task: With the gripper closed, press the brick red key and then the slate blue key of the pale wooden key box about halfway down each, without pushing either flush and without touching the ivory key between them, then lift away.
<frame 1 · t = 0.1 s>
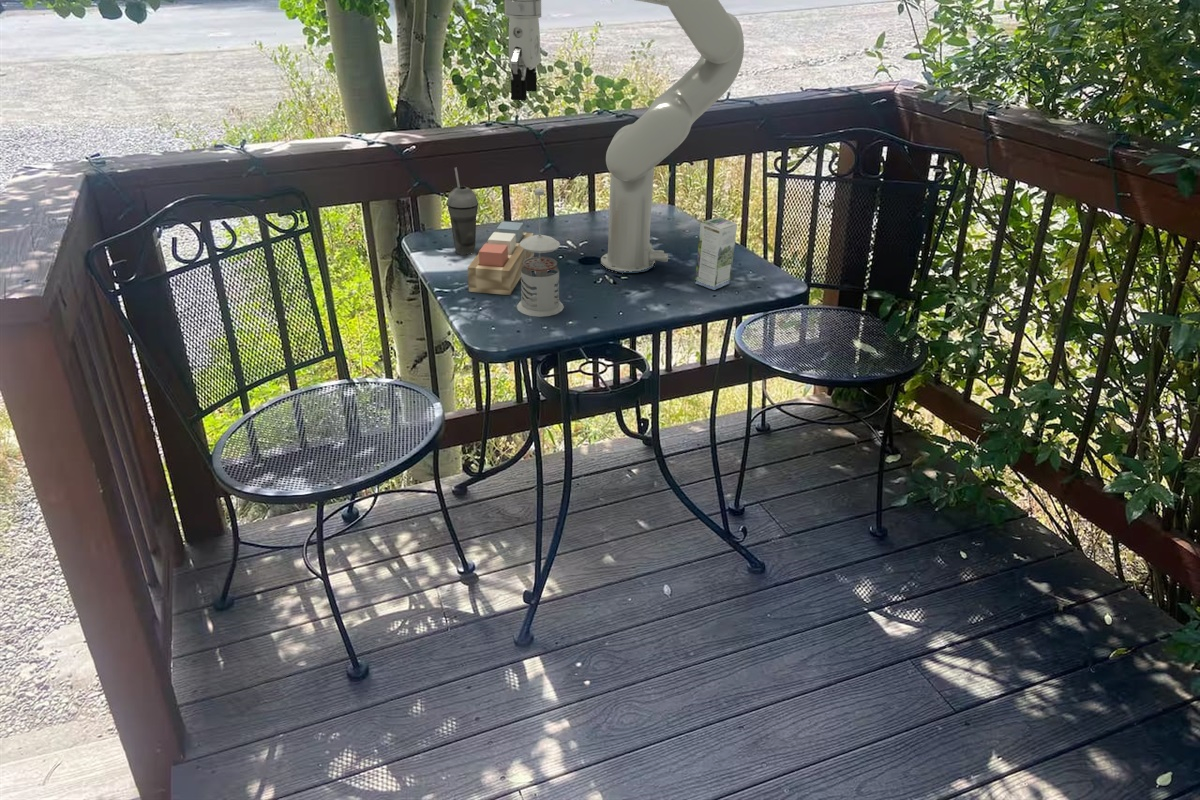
hand: (524, 95, 190), 37 cm above the table, tool pointing down, fingers open, 9 cm apart
syrup box: (712, 285, 197), on the table
red key: (493, 257, 190), point 6 cm above the table, slide at 0.0 cm
key box: (503, 272, 200), on the table
blue key: (510, 234, 203), point 6 cm above the table, slide at 0.0 cm
french press: (538, 305, 185), on the table
beverage cup: (465, 252, 211), on the table
white key: (502, 245, 196), point 6 cm above the table, slide at 0.0 cm
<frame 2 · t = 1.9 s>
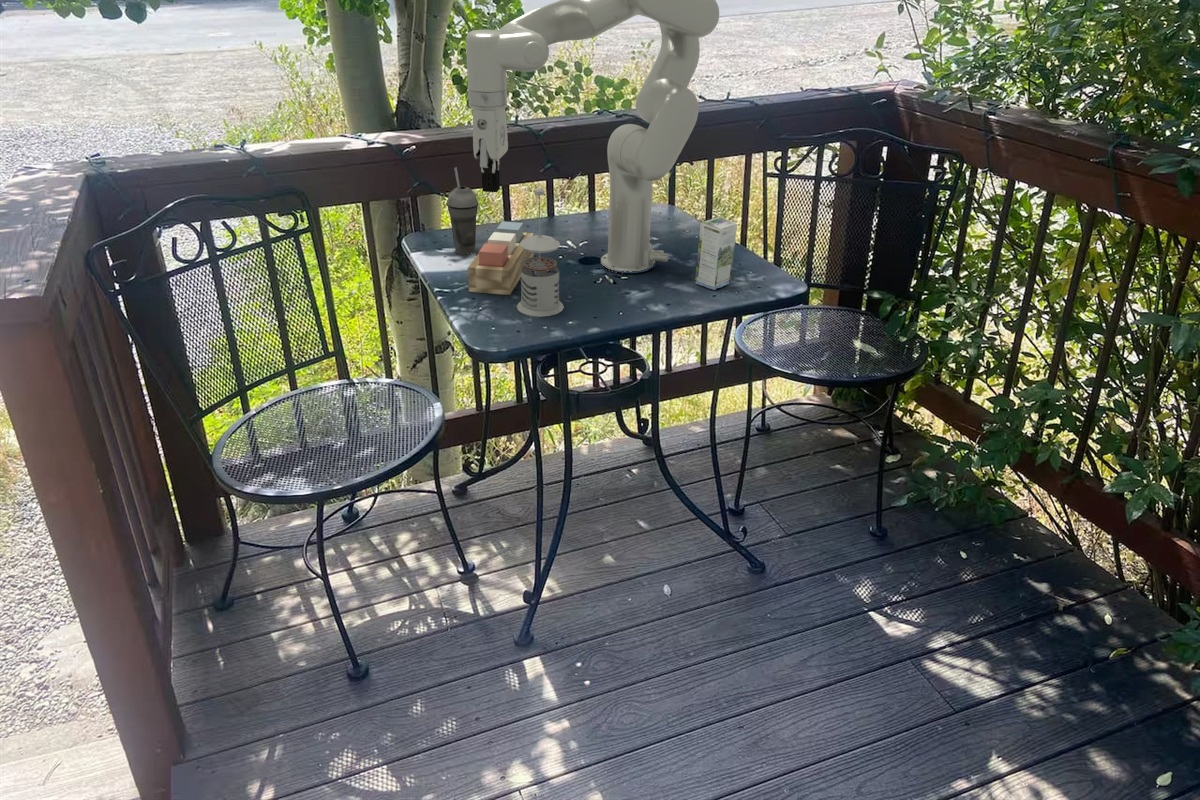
hand: (491, 190, 183), 21 cm above the table, tool pointing down, fingers closed
nothing on the table moved.
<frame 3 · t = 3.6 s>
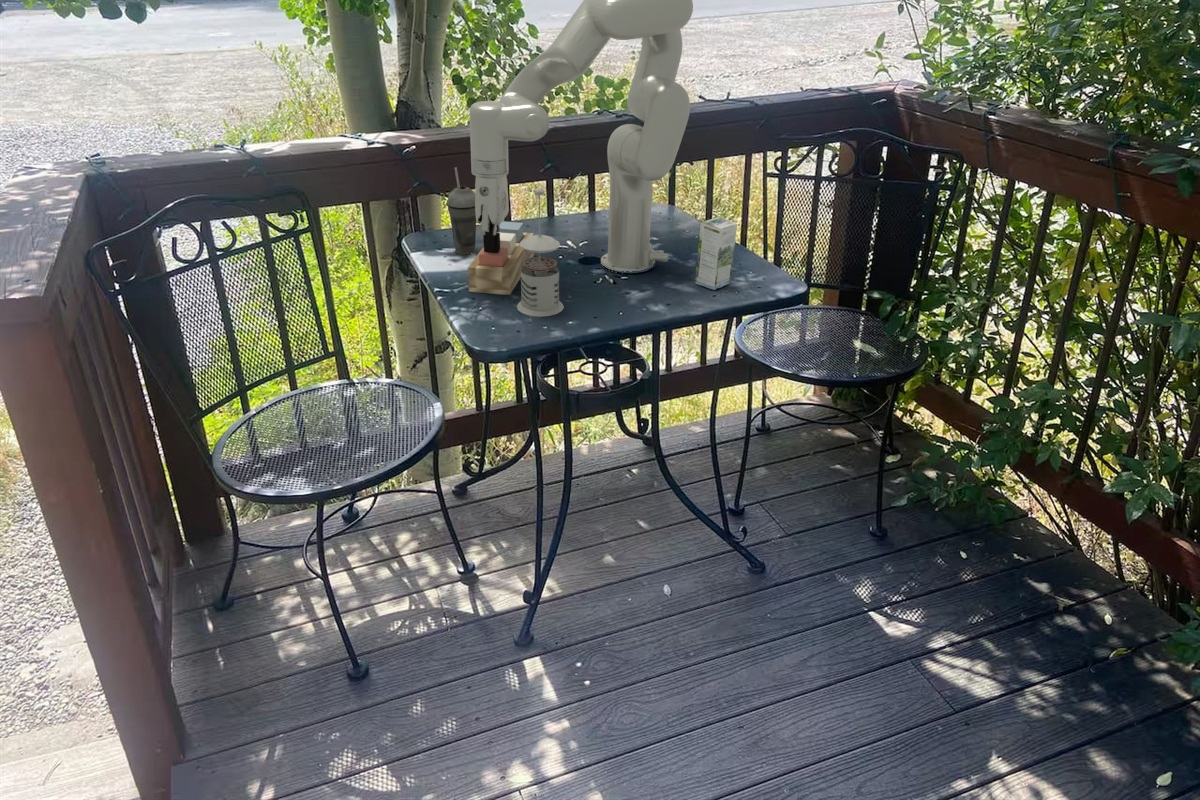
hand: (492, 251, 189), 8 cm above the table, tool pointing down, fingers closed
red key: (493, 260, 190), point 6 cm above the table, slide at 0.7 cm, touching gripper
everything else where it was.
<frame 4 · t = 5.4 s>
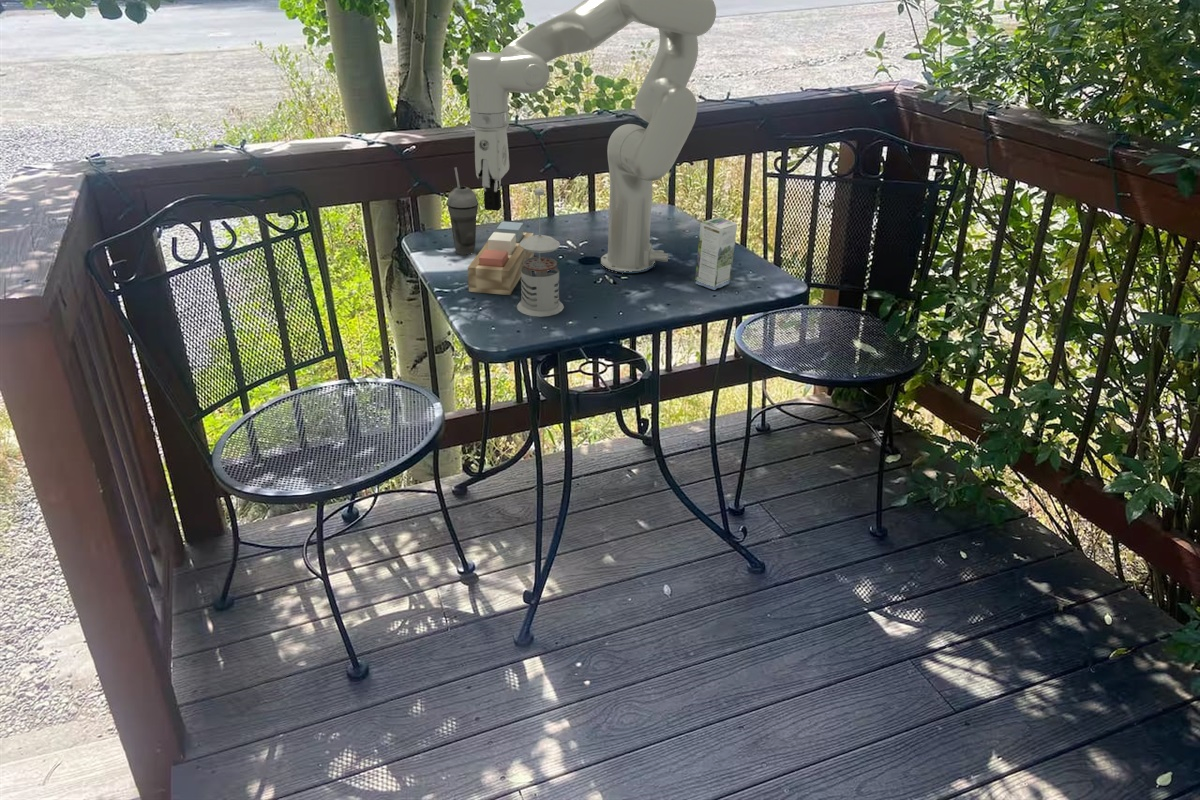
hand: (493, 208, 185), 17 cm above the table, tool pointing down, fingers closed
red key: (493, 263, 191), point 5 cm above the table, slide at 1.4 cm
everything else where it was.
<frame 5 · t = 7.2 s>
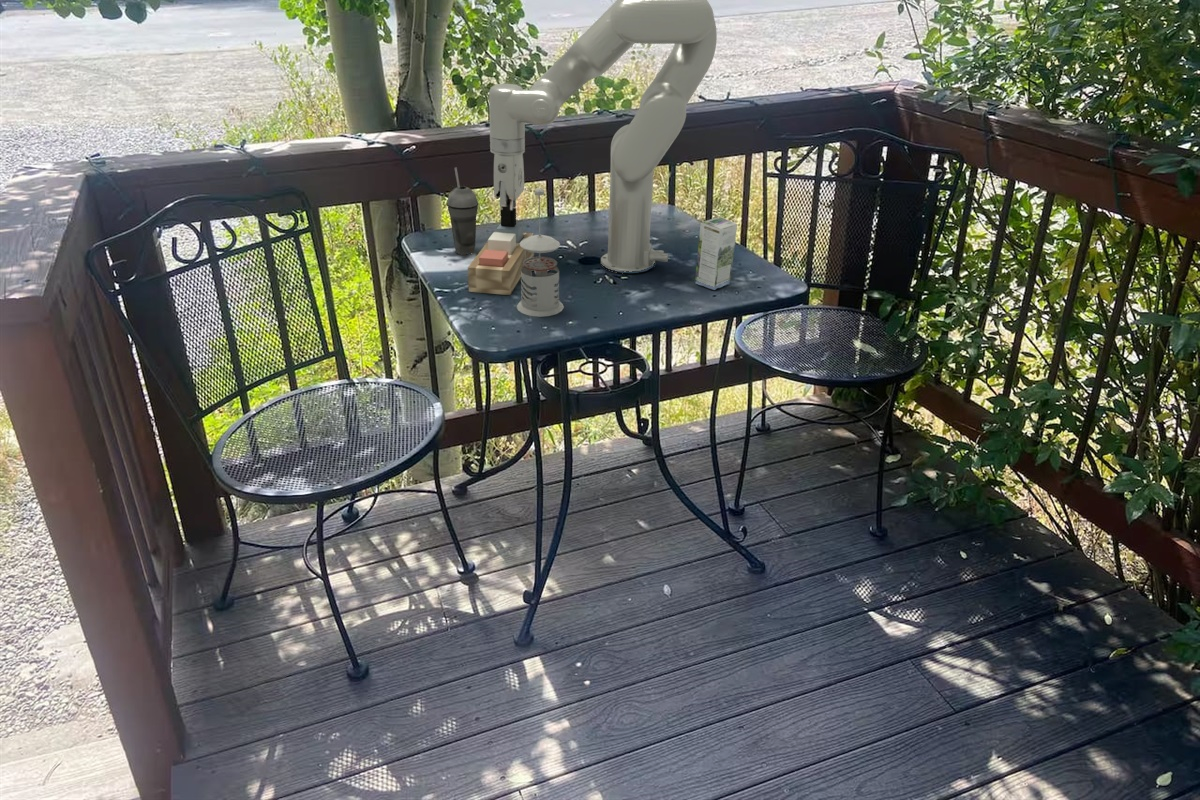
hand: (508, 225, 202), 9 cm above the table, tool pointing down, fingers closed
blue key: (510, 234, 203), point 6 cm above the table, slide at 0.0 cm, touching gripper
everything else where it was.
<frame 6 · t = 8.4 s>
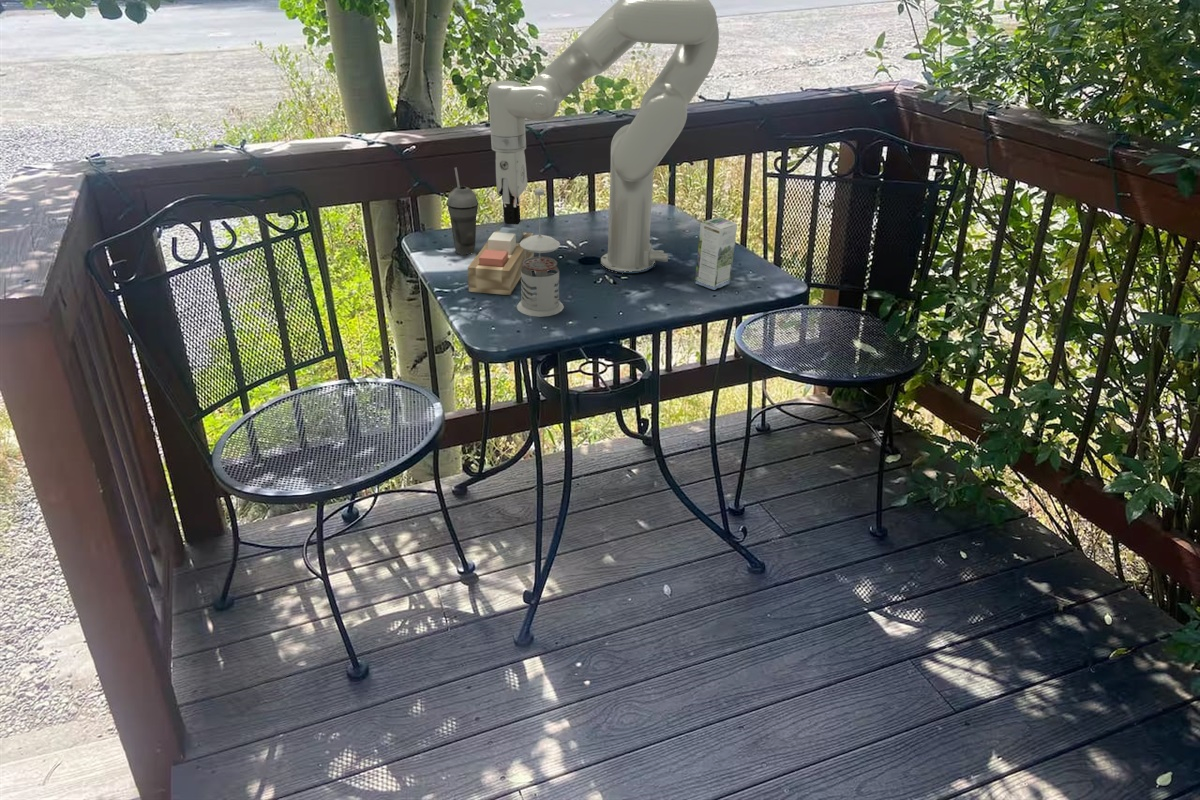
hand: (512, 222, 201), 9 cm above the table, tool pointing down, fingers closed
blue key: (510, 239, 204), point 5 cm above the table, slide at 1.4 cm
everything else where it was.
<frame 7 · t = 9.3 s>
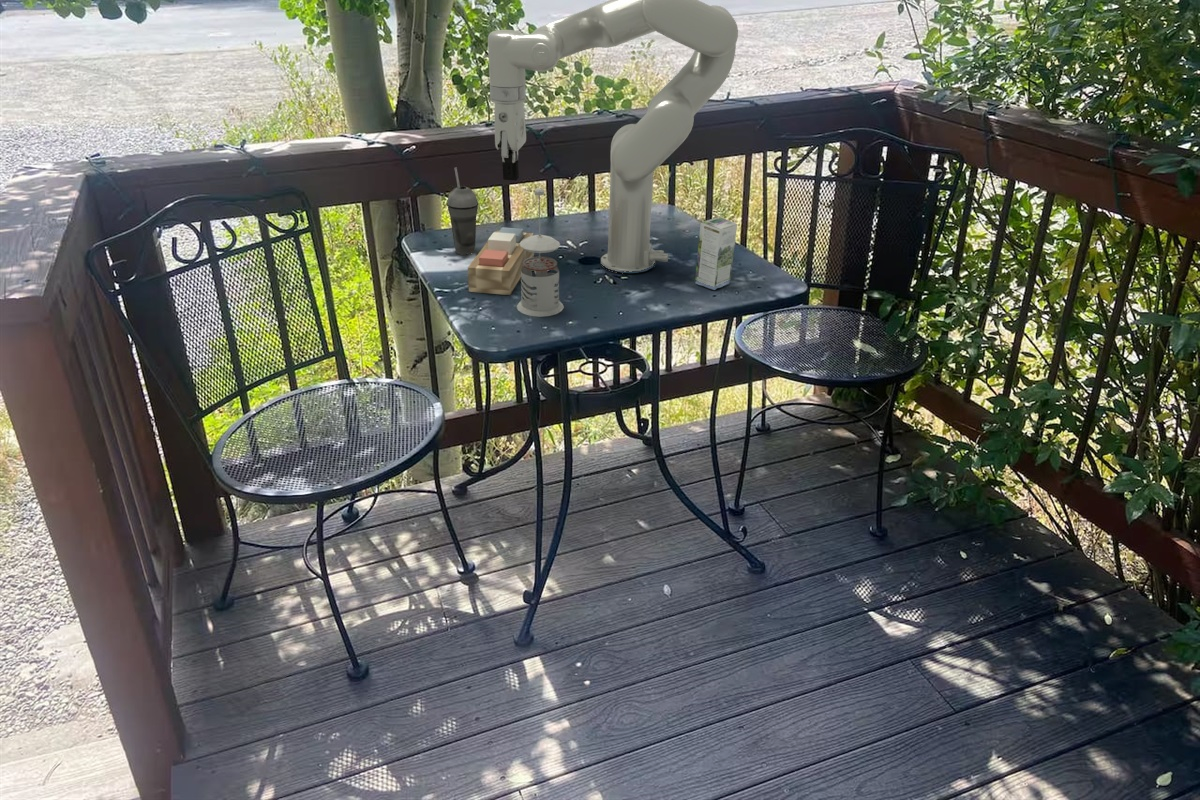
hand: (511, 179, 197), 19 cm above the table, tool pointing down, fingers closed
nothing on the table moved.
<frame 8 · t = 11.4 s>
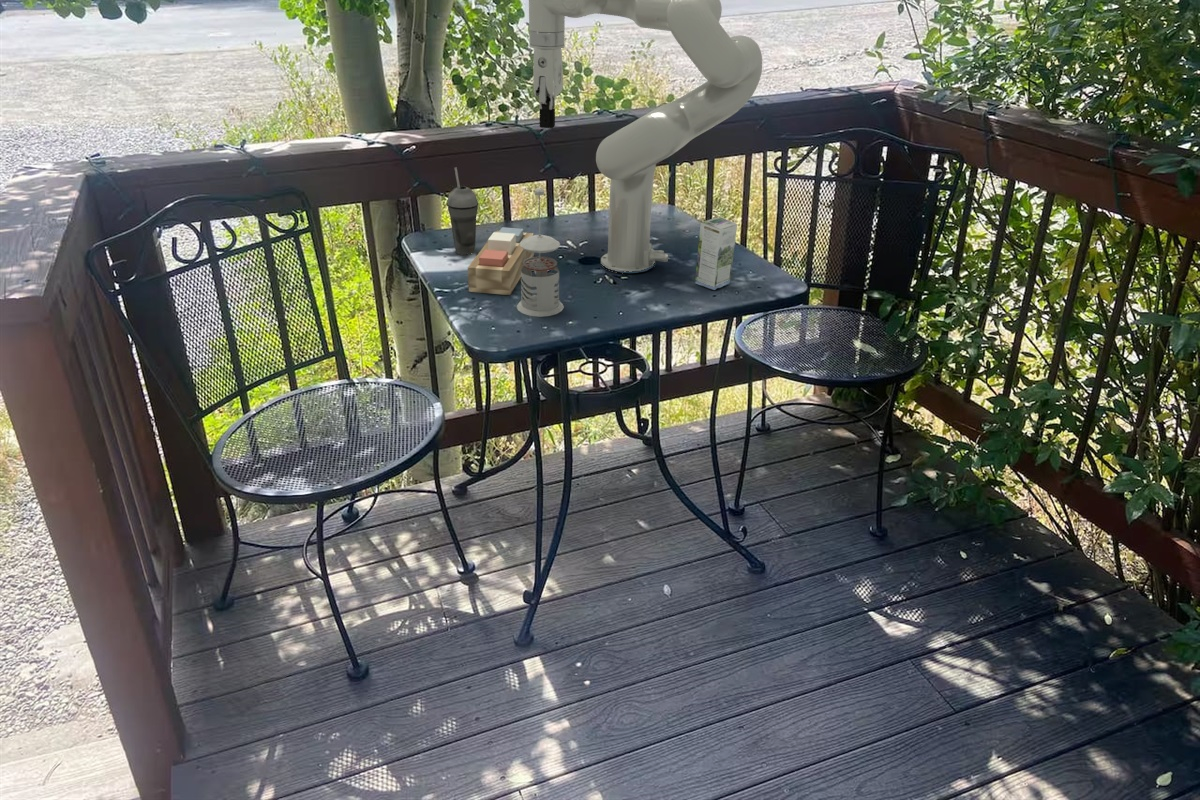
hand: (547, 127, 198), 29 cm above the table, tool pointing down, fingers closed
nothing on the table moved.
at the end: red key slide at 1.4 cm; blue key slide at 1.4 cm; white key slide at 0.0 cm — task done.
